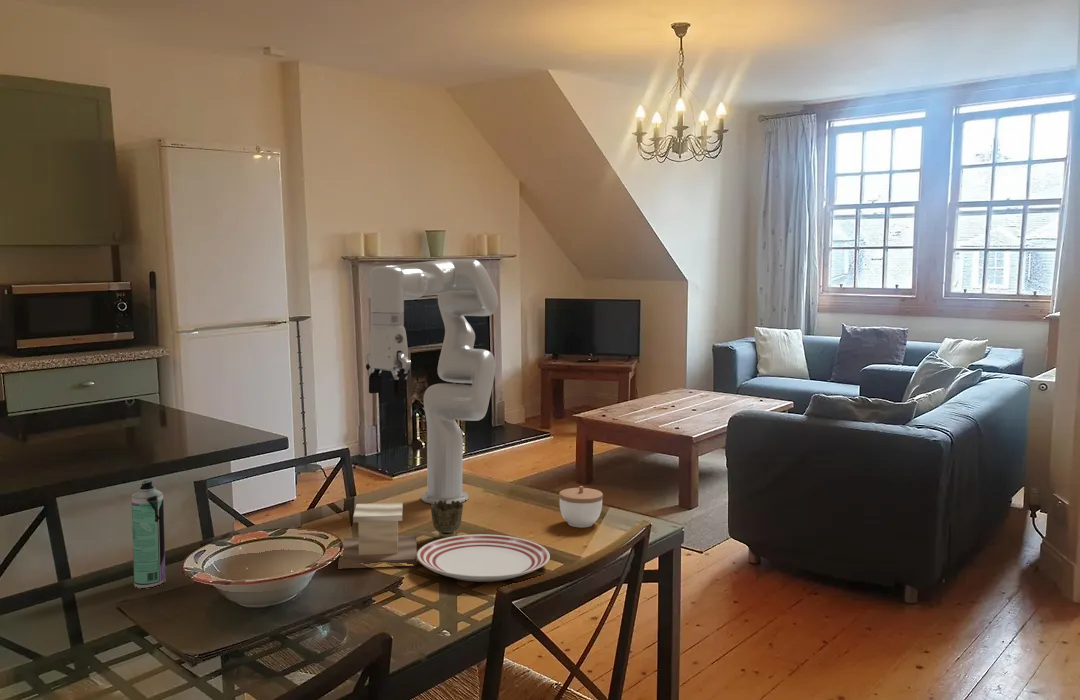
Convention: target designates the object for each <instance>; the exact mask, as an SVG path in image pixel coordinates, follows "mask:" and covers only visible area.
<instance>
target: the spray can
mask: <svg viewBox="0 0 1080 700" xmlns="http://www.w3.org/2000/svg"><path fill="white" fill-rule="evenodd" d="M131 497H132V498H131V528H132V531H131V533H132V560H133V561H132V564H133V568H132V569H133V586H134V587H135V588H136V587H137V589H141V588H144V587H150V586H154V585H157V584H159V583H161V582H163V581H164V580H165V581H166V551H165V550H166V549H165V548H166V547H165V516H164V515H165V512H164V511H165V510H164V508H165V507H164V495H163V491H161V490H159V489H156V487H155V486H154V485H153V481H152V480H144V481H143V482H142V483H141V486H140V487H139V489H138V490H137V491H136V492H134V493H133V494H131Z"/></svg>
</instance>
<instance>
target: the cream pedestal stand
mask: <svg viewBox="0 0 1080 700" xmlns="http://www.w3.org/2000/svg"><path fill="white" fill-rule="evenodd" d="M403 503H404V502H378V503H376V502H374V503H357V504H356V505H355V509H354V513H353V516H352V520H353V521H352V523H353V524H354V523H358V537H344V538H343V539H342V543H344V550H343V558H346V559H348V560H351V561H352V562H357V563H363V564H370V563H378V562H388V563H389V562H390V563H407V564H413V565H417V566H418V558H417V553H418V550H417V547H418V546H417V535H413V534H412V535H399V522H403V512H404V511H403V509H404V508H403V505H404V504H403Z"/></svg>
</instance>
